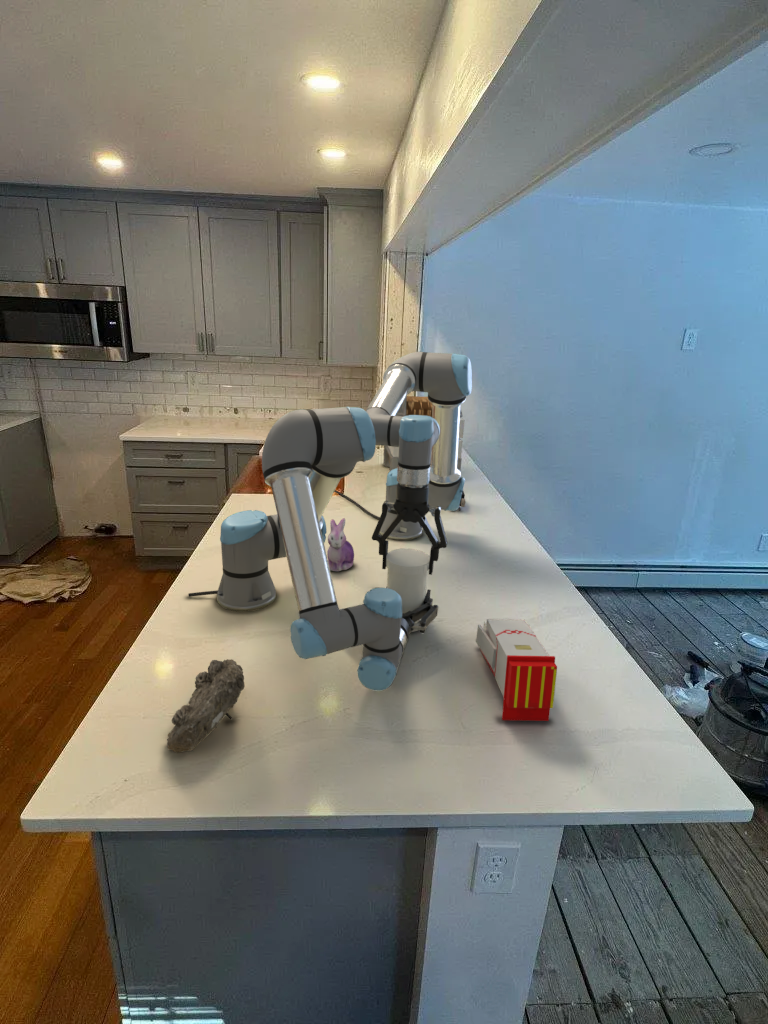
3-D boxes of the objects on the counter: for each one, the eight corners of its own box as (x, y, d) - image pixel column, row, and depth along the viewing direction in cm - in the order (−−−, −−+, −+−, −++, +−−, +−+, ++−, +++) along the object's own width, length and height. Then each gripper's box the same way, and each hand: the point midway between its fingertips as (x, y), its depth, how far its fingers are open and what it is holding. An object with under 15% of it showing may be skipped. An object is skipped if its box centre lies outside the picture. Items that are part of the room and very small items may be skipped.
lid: (406, 579, 131) (407, 570, 130) (376, 563, 139) (376, 554, 138) (439, 567, 138) (440, 559, 137) (408, 552, 146) (409, 544, 145)
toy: (523, 604, 135) (566, 662, 106) (518, 656, 138) (559, 727, 109) (472, 603, 135) (501, 661, 105) (468, 655, 138) (496, 726, 108)
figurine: (332, 575, 167) (332, 527, 162) (319, 561, 175) (319, 516, 170) (361, 569, 171) (362, 523, 166) (347, 556, 179) (348, 512, 174)
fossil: (192, 660, 117) (244, 628, 112) (224, 691, 120) (276, 661, 115) (142, 746, 98) (202, 712, 93) (182, 779, 101) (242, 748, 96)
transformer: (382, 463, 289) (386, 382, 275) (445, 464, 293) (451, 384, 279) (390, 482, 257) (394, 392, 243) (460, 483, 261) (468, 394, 247)
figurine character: (465, 515, 224) (460, 499, 237) (467, 498, 221) (462, 483, 234) (448, 515, 224) (444, 499, 237) (450, 498, 220) (445, 482, 234)
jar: (403, 636, 137) (407, 570, 131) (377, 620, 144) (380, 556, 138) (431, 624, 143) (436, 560, 137) (405, 609, 150) (409, 547, 144)
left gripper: (341, 643, 128) (366, 598, 149) (439, 659, 124) (450, 610, 145) (342, 614, 126) (367, 572, 146) (442, 630, 122) (453, 584, 142)
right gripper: (464, 483, 133) (456, 568, 140) (367, 474, 137) (364, 558, 144) (462, 492, 126) (454, 581, 133) (360, 483, 130) (357, 570, 137)
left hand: (408, 591), depth 146 cm, fingers closed on jar, 10 cm apart
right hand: (407, 569), depth 139 cm, fingers closed on lid, 11 cm apart
